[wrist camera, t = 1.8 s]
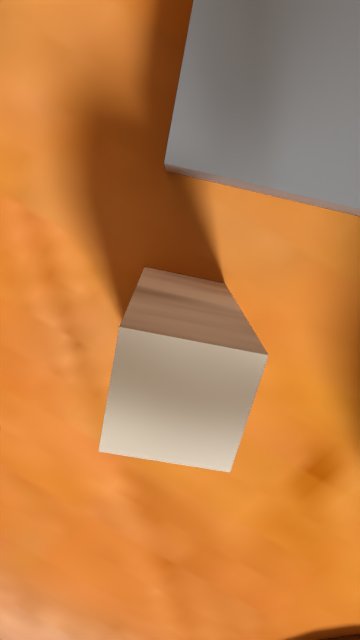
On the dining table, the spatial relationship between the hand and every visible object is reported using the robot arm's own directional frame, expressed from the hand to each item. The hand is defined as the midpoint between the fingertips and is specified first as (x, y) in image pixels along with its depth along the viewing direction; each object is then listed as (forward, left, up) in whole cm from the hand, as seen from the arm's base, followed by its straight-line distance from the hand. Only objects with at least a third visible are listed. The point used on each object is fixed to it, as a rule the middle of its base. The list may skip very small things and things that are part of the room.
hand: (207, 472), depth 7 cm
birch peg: (-1, 0, -12) cm, 12 cm away
